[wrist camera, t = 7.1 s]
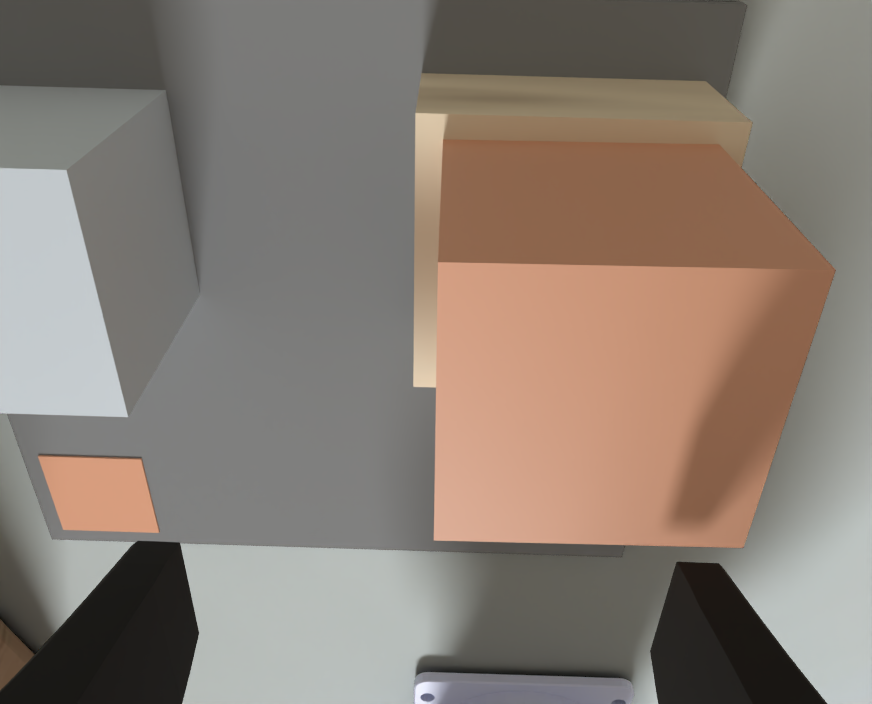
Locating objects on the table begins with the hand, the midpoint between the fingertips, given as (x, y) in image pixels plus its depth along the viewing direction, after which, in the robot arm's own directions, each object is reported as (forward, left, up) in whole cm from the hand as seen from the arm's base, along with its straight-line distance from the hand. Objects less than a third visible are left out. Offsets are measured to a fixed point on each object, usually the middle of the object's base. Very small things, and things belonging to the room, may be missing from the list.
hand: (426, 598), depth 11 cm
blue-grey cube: (+2, +9, -9) cm, 13 cm away
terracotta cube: (+2, -3, -6) cm, 7 cm away
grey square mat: (-1, +3, -10) cm, 10 cm away
